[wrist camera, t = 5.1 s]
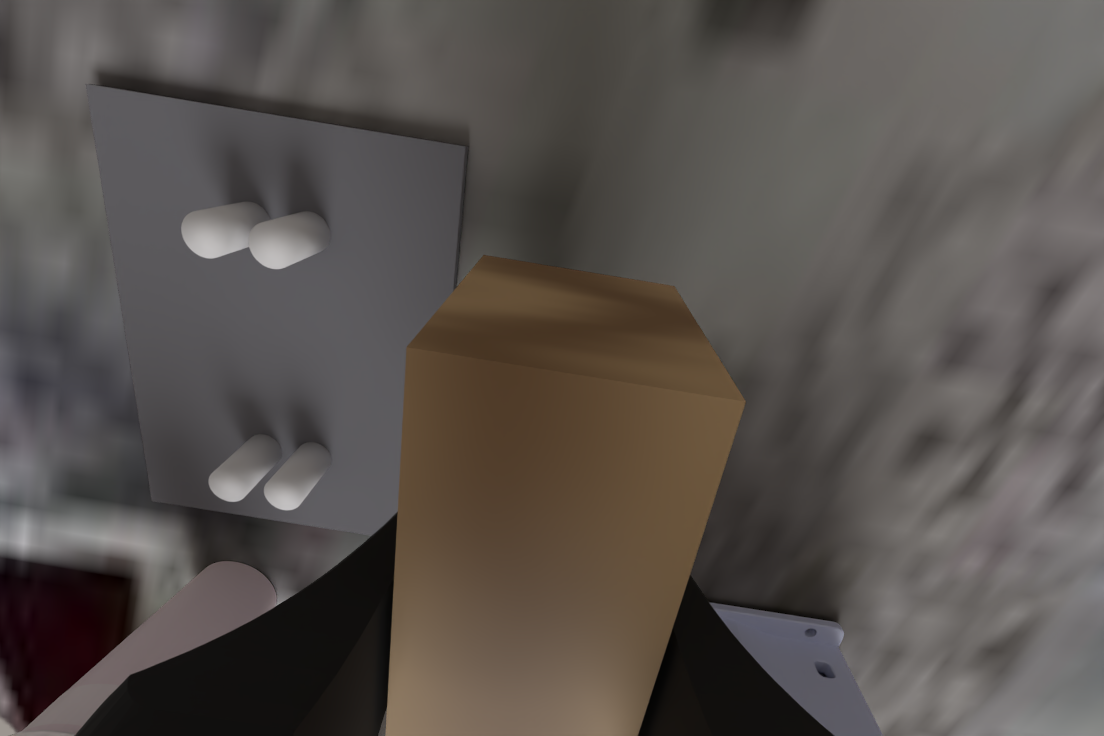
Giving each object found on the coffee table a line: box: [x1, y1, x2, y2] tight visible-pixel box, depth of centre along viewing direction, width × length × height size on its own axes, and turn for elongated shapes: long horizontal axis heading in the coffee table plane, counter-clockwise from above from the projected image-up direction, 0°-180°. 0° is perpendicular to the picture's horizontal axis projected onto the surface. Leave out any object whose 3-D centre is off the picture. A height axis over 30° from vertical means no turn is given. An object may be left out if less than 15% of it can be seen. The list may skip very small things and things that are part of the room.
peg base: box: [86, 84, 468, 536], centre depth 20 cm, size 12×16×3 cm
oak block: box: [386, 255, 746, 736], centre depth 12 cm, size 4×12×6 cm, turn 171°
